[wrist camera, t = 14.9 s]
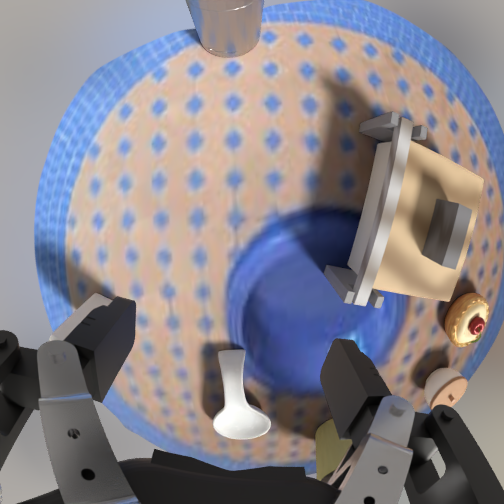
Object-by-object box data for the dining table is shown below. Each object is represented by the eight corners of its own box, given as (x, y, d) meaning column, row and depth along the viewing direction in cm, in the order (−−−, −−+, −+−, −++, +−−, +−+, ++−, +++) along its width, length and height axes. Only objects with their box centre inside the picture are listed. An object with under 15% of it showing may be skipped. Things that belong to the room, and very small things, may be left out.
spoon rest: (271, 426, 54) (273, 450, 48) (219, 429, 55) (217, 453, 48) (263, 345, 48) (265, 370, 41) (197, 350, 48) (191, 375, 41)
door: (395, 118, 30) (422, 111, 24) (480, 164, 32) (507, 166, 25) (349, 298, 37) (367, 321, 31) (438, 311, 38) (460, 330, 32)
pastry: (482, 299, 48) (506, 315, 39) (456, 342, 51) (477, 362, 42) (460, 280, 46) (488, 296, 37) (431, 329, 48) (455, 351, 40)
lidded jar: (454, 375, 53) (471, 396, 44) (421, 400, 55) (437, 423, 46) (449, 352, 51) (470, 374, 42) (413, 379, 52) (431, 405, 43)
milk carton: (123, 338, 47) (80, 407, 29) (91, 322, 46) (39, 383, 28) (129, 307, 45) (80, 375, 27) (95, 291, 44) (36, 349, 26)
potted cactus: (297, 446, 57) (314, 548, 28) (321, 408, 53) (354, 527, 24) (350, 446, 58) (379, 535, 29) (378, 408, 54) (424, 507, 25)
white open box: (360, 122, 38) (392, 111, 28) (451, 163, 39) (490, 165, 29) (323, 274, 44) (344, 302, 34) (416, 291, 46) (447, 317, 36)
